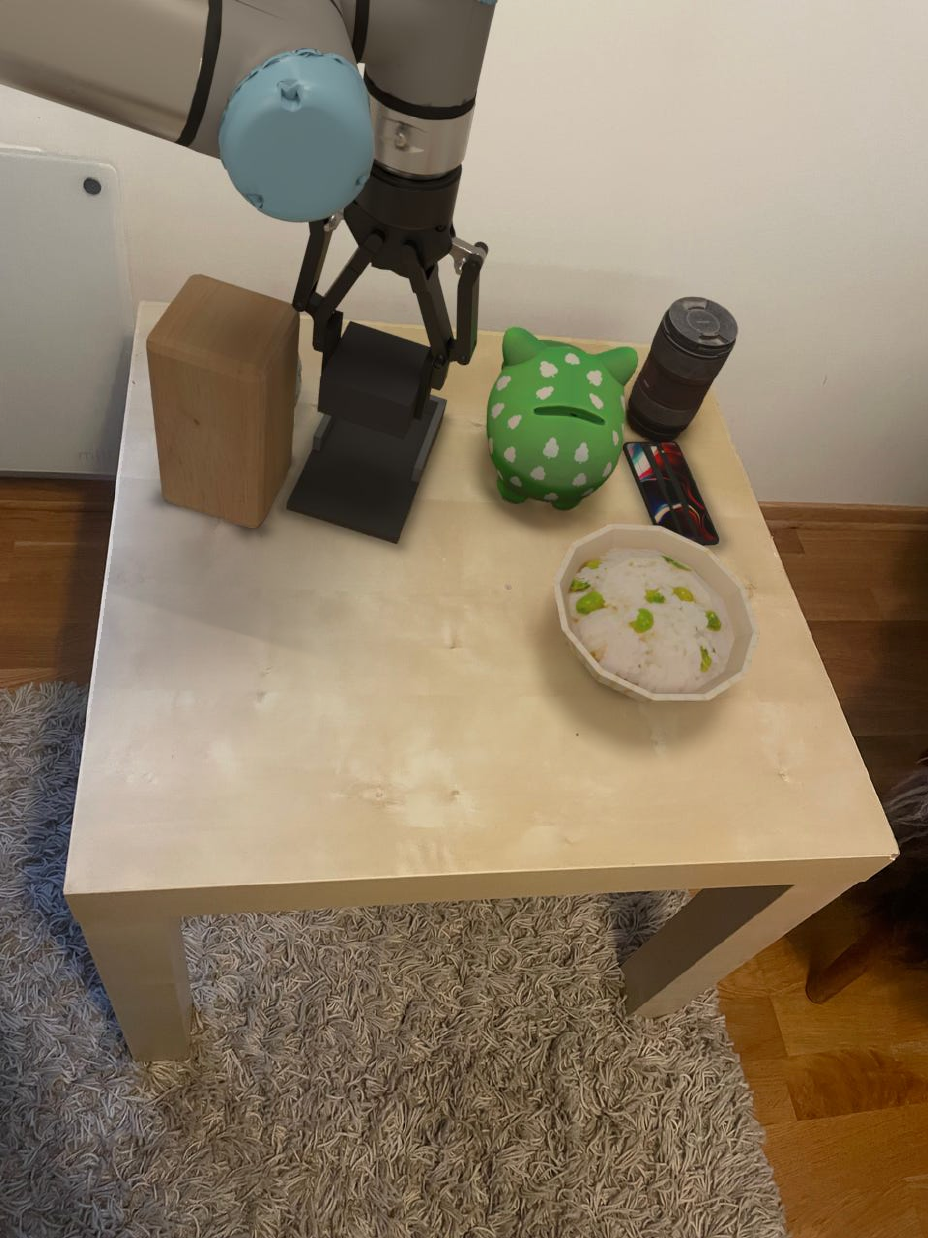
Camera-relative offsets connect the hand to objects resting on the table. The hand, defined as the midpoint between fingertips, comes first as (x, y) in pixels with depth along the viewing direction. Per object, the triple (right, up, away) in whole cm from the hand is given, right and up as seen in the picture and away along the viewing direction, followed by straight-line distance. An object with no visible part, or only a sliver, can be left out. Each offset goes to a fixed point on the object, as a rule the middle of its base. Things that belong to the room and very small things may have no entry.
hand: (374, 393), depth 83 cm
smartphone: (+31, -6, +21) cm, 38 cm away
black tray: (-2, -4, +14) cm, 14 cm away
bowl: (+23, -24, +7) cm, 34 cm away
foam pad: (0, 0, 0) cm, 0 cm away
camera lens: (+30, +3, +26) cm, 40 cm away
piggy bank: (+16, -4, +18) cm, 24 cm away
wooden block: (-15, -7, +9) cm, 19 cm away
